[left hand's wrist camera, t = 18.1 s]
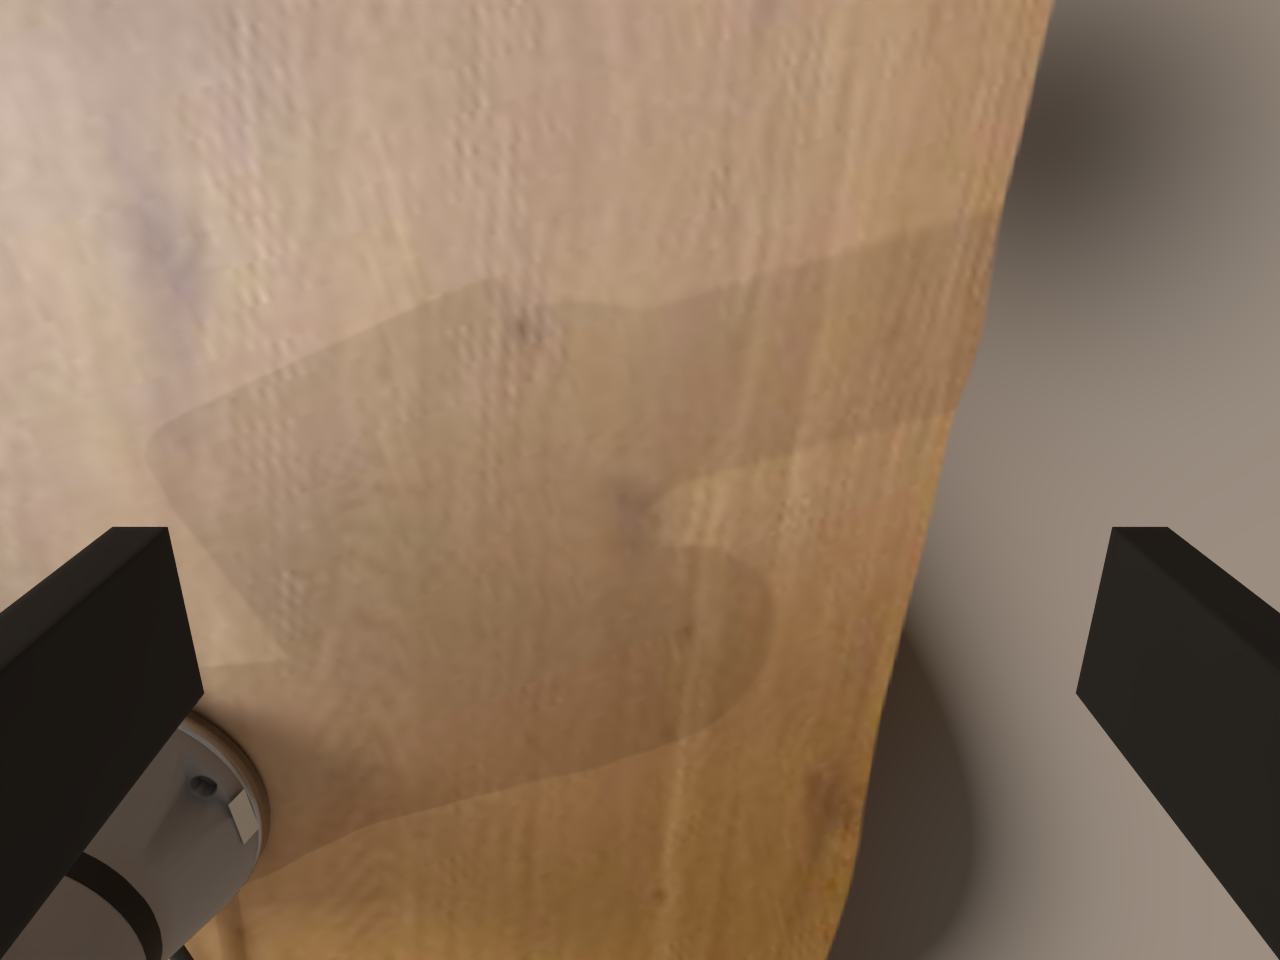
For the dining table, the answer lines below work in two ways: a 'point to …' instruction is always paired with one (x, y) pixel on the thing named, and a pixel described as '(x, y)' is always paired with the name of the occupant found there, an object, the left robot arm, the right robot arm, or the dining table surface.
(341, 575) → the dining table surface
